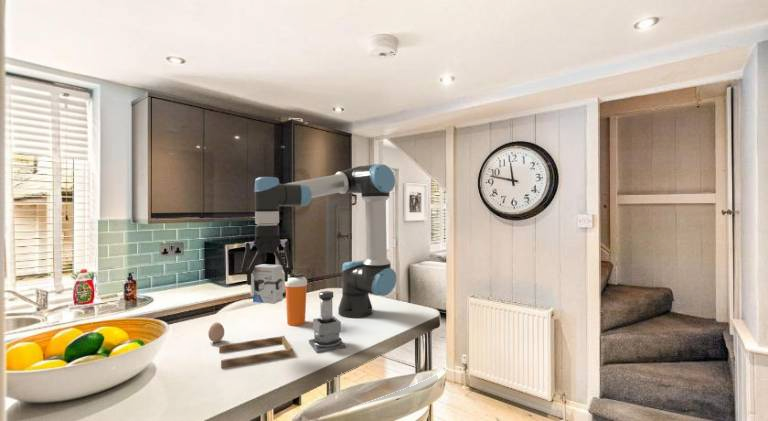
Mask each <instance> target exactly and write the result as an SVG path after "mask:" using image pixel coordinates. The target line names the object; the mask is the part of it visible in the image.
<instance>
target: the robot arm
mask: <svg viewBox="0 0 768 421" xmlns="http://www.w3.org/2000/svg"><path fill="white" fill-rule="evenodd" d="M395 184H396V178H395V174H394V172H393V170H392V169H391V167H389V166H387V165H386V164H382V163H376V164H368V165H359V166H358V165H357V166H356V167H355V166H354V167H352V168H349V169H345V170H341V171H337V172H336V173H335V174H332V175H327V176H321V177H316V178H315V177H314V178H310V179H305V180H298V181H291V182H287V183H280V180H279V178H278V177H273V176H258V177H257V178H255V181H254V191H253V192H254V224H256V225H255V226H254V240H253V241H249V242H247V241H246V242H244V246H245V247H244V248H245V251H244V255H243V260H242V263H241V269H240V273H241V274H243V275H246V284H247V286H250V296H251V297H253V296H254V275H253V270H254V268H255V266H257V265H258V264H257V263H258V262H259V259H260V257H261V256H262V254H268V253H269V254H273V255H274V256H275V258H276V260H277V262H278V263H279V265H281V266H282V276H283V278H282V279H283V294H284V293H286V288H285V282H287V281H288V274H289V272H290V271H293V270H294V264H293V259H292V257H291V256H292V255H291V253H290V241H289V240H281V239H280V225H279V223H280V207H306V206H308V205H309V204H310V203H311V201H312V199H314V198H319V197H323V196H329V195H334V194H337V193H338V194H341V195H344V194H351V193H352V194H361V198H362V200H364V202H365V206H364V207H365V209H364V210H365V244H366V245H365V246H366V247H365V250H366V251H365V253H366V255H365V260H364V259H363V260H353V261H346V262H344V263H343V264H342V267H341V268H342V269H341V284H342V286H341V290H342V291H341V293H342V296H341V300H340V303H339V305H338V311H337V313H338V315H339V316H341V317H346V318H363V317H364V318H365V317H368V316H370V315H373V305H372V302H371V299H370V295H369V294H371V295H374V296H381V297H383V296H388V295H389V294H390V293H392V291H393V289H395V287H396V284H397V280H398V279H397V273H396V271H395V270H394V269H392V268H391V261H390V260H389V259H388V255H387V254H388V253H387V251H388V249H387V247H388V245H387V244H388V243H387V200H388V199H389V198H390V193H391V192H392V191H393V189H394V188H395ZM280 245H281V247H283V251H284V255H285V259H286V263H287V265H286V263H285V261H284V259H283V258H282V255H281V254H280V252H279V250H278V248H279V246H280ZM254 247H256V249H257V250H256V252H255V255H254V257H253V258H252V261H251V262H250V264H249V266H248V262H249V259H250V254H251V250H252V249H253V248H254ZM247 267H248V269H247Z"/></svg>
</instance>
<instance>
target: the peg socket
mask: <svg viewBox="0 0 768 421" xmlns="http://www.w3.org/2000/svg"><path fill="white" fill-rule="evenodd" d="M312 322H313V323H312V329H313V330H314V331H313V332H314V338H311V339H308V344H309V345H310V346H311V348H312V349H313V350H314V352H315V353H316V354H317V353H323V352H329V351H334V350H335V351H336V350H341V349H346V346H347V345H346V344H345V342H343V340H342V338H341V337H340V333H342V322H341V321H340V320H339V319H338V318H337V317H335V316H334V315H333V322H331V323H324V324H321V317H318V318H313V319H312Z"/></svg>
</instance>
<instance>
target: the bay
mask: <svg viewBox="0 0 768 421" xmlns="http://www.w3.org/2000/svg"><path fill="white" fill-rule="evenodd" d="M277 344H282V345H283V347H284V349H280V350H274V351H268V352H262V353H255V354H249V355H244V356H239V357H231V358H225V359H220V368H221V369H223V368H228V367H235V366H240V365H246V364H254V363H257V362H264V361H265V362H266V361H269V360H277V359H280V358H281V359H282V358H287V357H293V356H294V354H293V353H294V349H293V347H292V346H291V344H290V343H289V341H288V339H287V337H286V336H285V335H279V336H275V337H274V336H273V337H268V338H267V337H266V338H260V339H254V340H247V341H240V342H232V343H227V344H220V345H218V347H219V349H218V350H219V351H218V352H219V353H225V352H231V351H239V350H246V349H251V348H256V347H263V346H264V347H265V346H270V345H277Z"/></svg>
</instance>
